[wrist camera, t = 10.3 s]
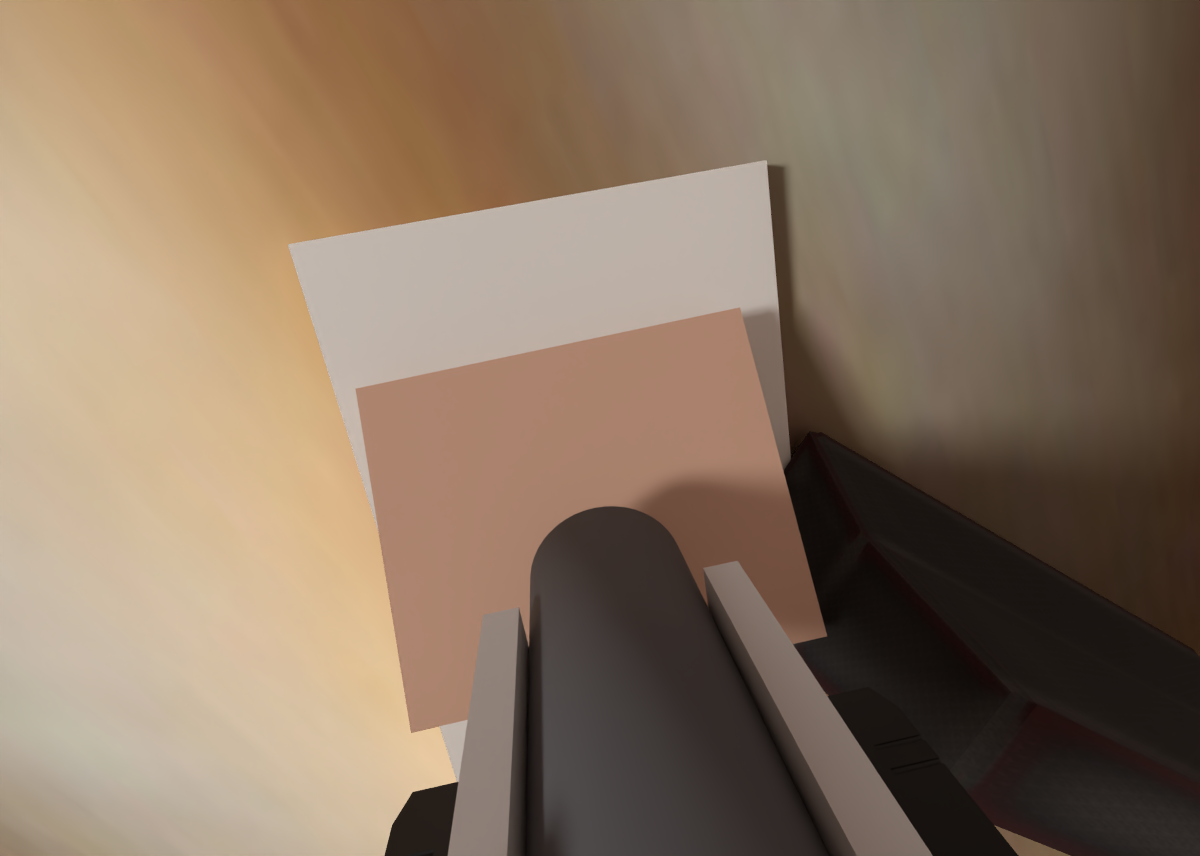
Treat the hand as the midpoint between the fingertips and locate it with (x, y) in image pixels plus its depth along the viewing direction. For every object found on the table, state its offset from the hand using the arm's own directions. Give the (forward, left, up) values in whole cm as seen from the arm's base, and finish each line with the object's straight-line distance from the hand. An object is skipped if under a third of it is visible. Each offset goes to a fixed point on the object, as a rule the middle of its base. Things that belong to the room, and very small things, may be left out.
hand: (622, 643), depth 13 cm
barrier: (+15, -10, -9) cm, 20 cm away
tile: (0, +5, -8) cm, 10 cm away
